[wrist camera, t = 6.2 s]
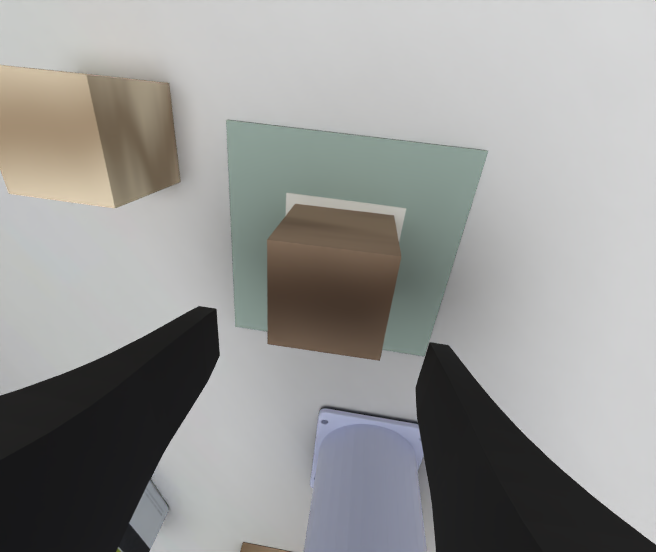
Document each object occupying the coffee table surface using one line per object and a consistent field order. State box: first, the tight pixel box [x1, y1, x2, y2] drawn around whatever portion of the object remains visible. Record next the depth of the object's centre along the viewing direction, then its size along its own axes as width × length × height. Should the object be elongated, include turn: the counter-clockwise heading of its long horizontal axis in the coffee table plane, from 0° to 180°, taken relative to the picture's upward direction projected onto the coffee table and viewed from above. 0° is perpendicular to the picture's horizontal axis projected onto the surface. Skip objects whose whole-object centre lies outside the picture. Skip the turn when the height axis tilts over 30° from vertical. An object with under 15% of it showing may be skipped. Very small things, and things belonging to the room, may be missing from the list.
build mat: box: [226, 120, 488, 356], centre depth 18 cm, size 12×12×1 cm
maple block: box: [0, 65, 180, 208], centre depth 14 cm, size 4×4×5 cm
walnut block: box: [267, 204, 401, 361], centre depth 15 cm, size 5×5×5 cm
